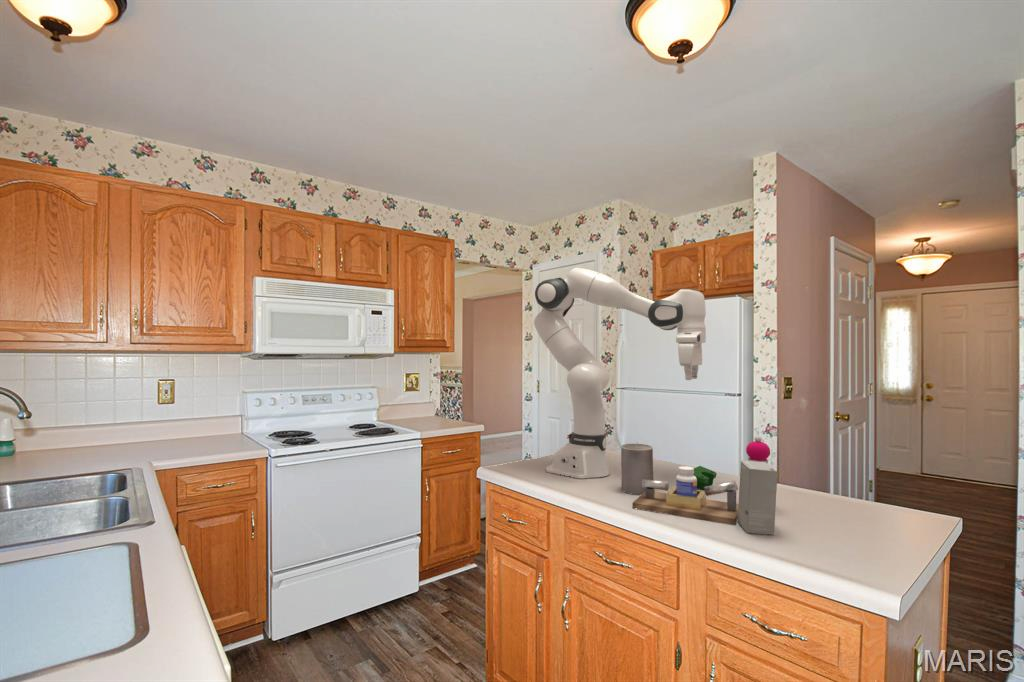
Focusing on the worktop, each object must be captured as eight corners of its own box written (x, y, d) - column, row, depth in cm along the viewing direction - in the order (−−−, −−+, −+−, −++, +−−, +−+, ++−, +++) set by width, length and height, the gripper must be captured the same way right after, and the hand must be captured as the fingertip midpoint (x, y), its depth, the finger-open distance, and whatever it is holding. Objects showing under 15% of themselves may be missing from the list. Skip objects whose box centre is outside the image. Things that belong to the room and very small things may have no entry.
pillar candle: (636, 484, 162) (635, 438, 162) (660, 491, 154) (659, 442, 154) (614, 489, 157) (614, 441, 157) (638, 497, 148) (637, 446, 149)
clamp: (700, 505, 155) (702, 482, 151) (682, 497, 159) (683, 474, 155) (716, 484, 162) (719, 462, 158) (699, 476, 166) (700, 454, 162)
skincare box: (736, 522, 127) (736, 459, 127) (767, 523, 126) (766, 460, 126) (746, 534, 118) (746, 467, 119) (779, 536, 117) (778, 468, 118)
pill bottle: (697, 507, 134) (696, 470, 134) (676, 505, 136) (675, 469, 136) (697, 501, 139) (696, 466, 139) (676, 499, 141) (676, 464, 141)
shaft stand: (632, 508, 138) (632, 474, 138) (646, 495, 150) (646, 464, 150) (734, 525, 125) (734, 487, 125) (741, 509, 137) (740, 475, 137)
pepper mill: (746, 502, 143) (746, 432, 143) (775, 507, 139) (774, 435, 139) (741, 509, 137) (741, 436, 138) (771, 514, 133) (770, 439, 133)
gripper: (687, 338, 176) (687, 377, 175) (674, 336, 158) (674, 380, 158) (706, 338, 172) (706, 378, 172) (695, 336, 155) (695, 381, 155)
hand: (691, 379), depth 165 cm, fingers open, 8 cm apart
